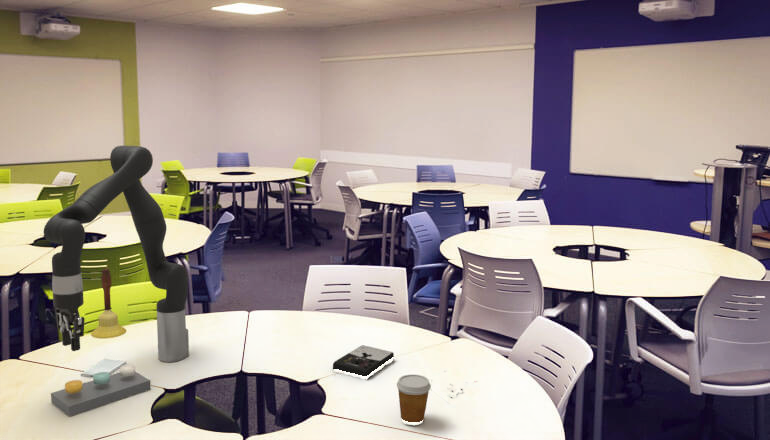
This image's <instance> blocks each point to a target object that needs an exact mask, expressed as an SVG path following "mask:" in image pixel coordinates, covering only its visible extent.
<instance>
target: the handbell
mask: <svg viewBox="0 0 770 440" xmlns="http://www.w3.org/2000/svg"><path fill="white" fill-rule="evenodd" d="M100 278H101V279H100V281H101V287H102V290H103V299H104V300H103V301H104V303H103V304H104V310H103V312H102V313H101V314H100V315H99V316H98V325H97V327H96V328H95V329H94V330H93V331H92V332H91V334H90V335H91V337H92V338H94V339H113V338H118V337H120V336H121V337H122V336H123V335H125V334H126V333H127V329H126V328H125V327H124V326H122V325H121V324H120V323H119V318H118V314H117V313H116V312H114V311H112V306H111V289H112V276H111V271H110V268H109V267H105V268H102V271H101V277H100Z"/></svg>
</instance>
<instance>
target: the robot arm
mask: <svg viewBox="0 0 770 440" xmlns="http://www.w3.org/2000/svg"><path fill="white" fill-rule="evenodd" d="M109 159H110V162H109V163H110V166H111V169H112V172H113V174H111V175H110V176H107V177H106V178H104V179H102V180H100V181H99V182H96V183H95V184H93V185H92V186H90V187H89V188H88V189H86V190H85V191H84V192H83V193H82V194H81V195H80V196H79V197H78V198H77V199H76V200H75V201H74V202H73V203H72V204H71V205H69V206H67V207H65V208H64V209H62V210H60V211H59V212H57V213H56V214H54V215H52V217H51V218H50V219H48V221H47V222H46V223H45V225H44V228H43V236H44V238H45V240H47V241H48V242H50V243H52V244H59V245H62V247H61V251H60V252H56V253H55V254H53V255H52V257H51V269H52V279H51V281H52V283H51V284H52V285H51V286H52V288H51V289H52V303H53V307H54V308H55V309H54V314H55V321H56V327H57V330H59V332H60V333H61V341H62V342H61V343H62V346H64V347H67V346H70V349H71V351H72V352H76V351H79V350H80V349H81V338H82V337H85V336H84V335H85V320H86V319H85V316H80V315H81V314H80V311H79V308H80V307H82V306H83V305H84V302H85V301H84V286H83V277H82V269H81V268H82V266H81V264H82V263H81V256H82V254H83V253H82V252H83V248H84V243H85V240H86V229H85V227H84V226H83V225H85V224H90V223H92V222H93V221H95V219H96V218H98V217H99V215H100V214H101V213H102V212H103V211H104V210H105V209H106V208H107V206H108V205H110V203H112V202H113V200H115V199H116V198H117V197H119V196H120V194H122V193H123V196H124V199H125V201H126V204H127V206H128V209H129V211H130V214H131V218H132V221H133V224H134V228H135V230H136V232H137V233H136V234H137V236H138V237H139V242H140V243H141V249H142V251H143V253H144V258H145V263H146V266H147V272H148V276H149V280H150V282H151V284H152V285H153V286H154V287H155V288H158V289H160V290H165V294H166V295H165V297H164V298H162V299H159V300H158V301H157V302H156V324H157V325H156V327H157V329H156V330H157V355H158V356H157V357H158V360H159V361H161V362H165V363H171V362H173V363H174V362H178V361H183V360H184V359H185V358H187V357H189V355H190V354H189V353H190V349H189V348H190V344H189V343H190V341H189V329H188V328H187V324H186V319H187V318H186V303H187V299H188V286H189V285H188V282H189V280H188V278H189V277H188V271H187V269H186V267H185V266H184V265H182V264H181V263H180V264H179V263H175V262H169V261H168V259H167V258H166V255H165V254H166V253H165V252H164V242H165V237H166V235H167V223H166V219H165V217H164V213H163V211H162V208H161V206H160V205H159V203H158V202H157V200H155V198H154V197H153V196H152V195H151V194H150V193H149V192H148V191H147V189H146V188H145V187H144V186H143V183H142V182H141V180H140V179H142V178H143V177H145V176H146V175H147V174H148V173H149V172H150V170H151V169H152V167H153V162H154V161H153V160H154V159H153V154H152V153H151V151H150V150H149V149H148V148H147V147H143V146H141V145H140V146H139V145H117V146H114V148H113V149H112V150H111V152H110V158H109ZM80 337H81V338H80Z"/></svg>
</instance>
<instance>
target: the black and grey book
mask: <svg viewBox="0 0 770 440" xmlns="http://www.w3.org/2000/svg"><path fill="white" fill-rule="evenodd" d="M394 355H395V353H394V352H393V351H388V350H386V349H381V348H377V347H373V346H369V345H365V344H364V345H363V344H361V345H360V346H358V347H356V348H355V349H353V350H352V351H350V352H348V353H346V354H345V355H343V356H342V357H340V358H338V359H337V360H335V361H333V364H332V370H333V369H339V370H342V371H346V372H350V373H355V374H358V375H362V376H367V375H369V374H370V373H371V372H372V371H374V370H375V369H377V368H378V367H379V366H381V365H382V364H384V363H385V362H386V361H388V360H389V359H391V358H392V357H394ZM394 358H395V357H394Z"/></svg>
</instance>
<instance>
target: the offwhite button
mask: <svg viewBox="0 0 770 440" xmlns="http://www.w3.org/2000/svg"><path fill="white" fill-rule="evenodd" d="M119 372H120V375H121V376H125V377H126V376H132V375H134V374H135V373H136V372H137V371H136V365H135V364H129V363H128V364H126V365H123V366H121V367H120V369H119Z"/></svg>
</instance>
